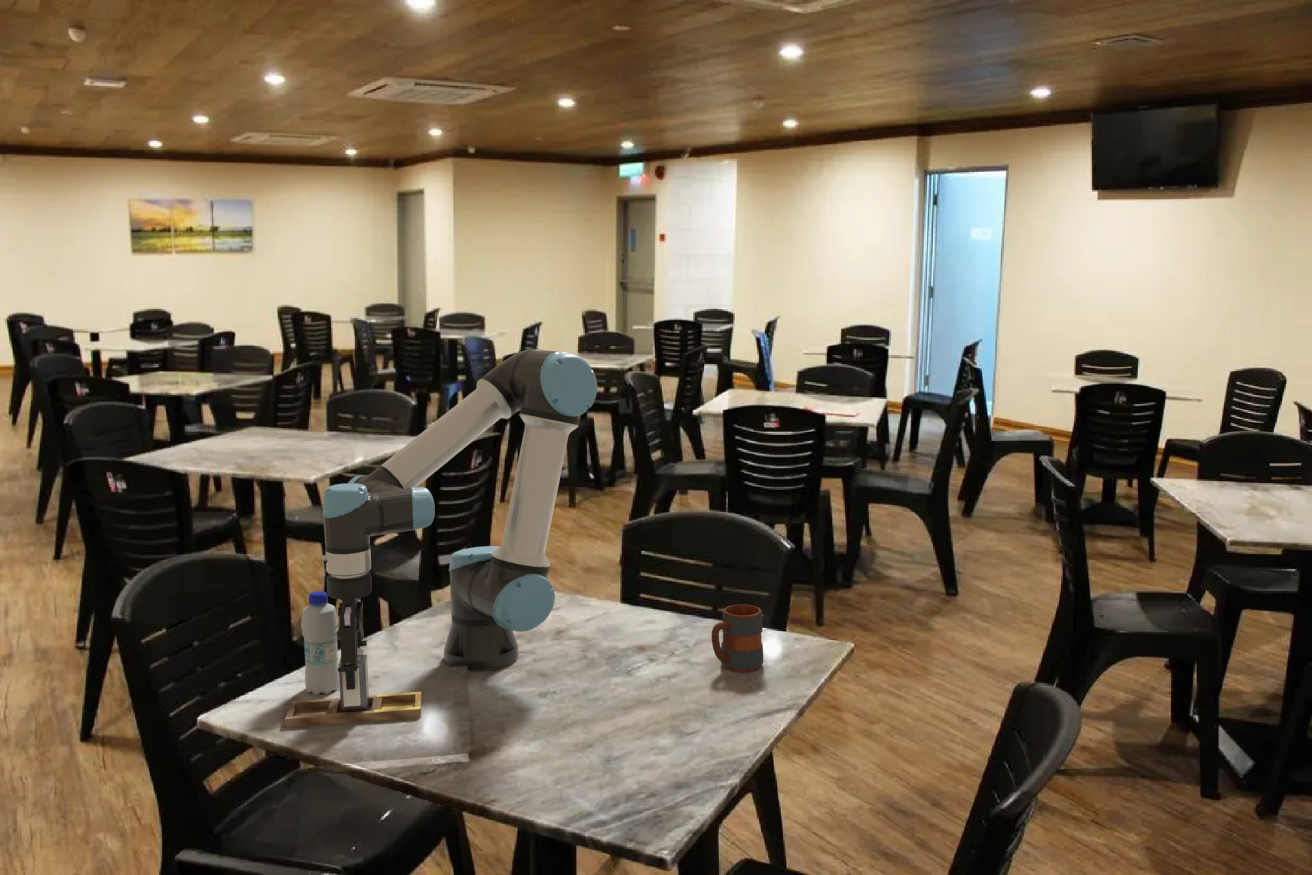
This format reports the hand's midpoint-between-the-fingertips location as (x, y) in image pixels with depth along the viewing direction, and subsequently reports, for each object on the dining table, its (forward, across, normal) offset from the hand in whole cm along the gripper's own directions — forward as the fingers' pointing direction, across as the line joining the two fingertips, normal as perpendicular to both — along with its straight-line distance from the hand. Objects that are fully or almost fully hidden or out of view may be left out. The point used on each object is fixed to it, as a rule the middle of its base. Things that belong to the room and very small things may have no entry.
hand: (354, 693), depth 197 cm
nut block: (+4, 0, 0) cm, 4 cm away
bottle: (+5, -13, -7) cm, 16 cm away
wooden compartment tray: (+5, 0, 0) cm, 5 cm away
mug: (+5, -12, +73) cm, 74 cm away
